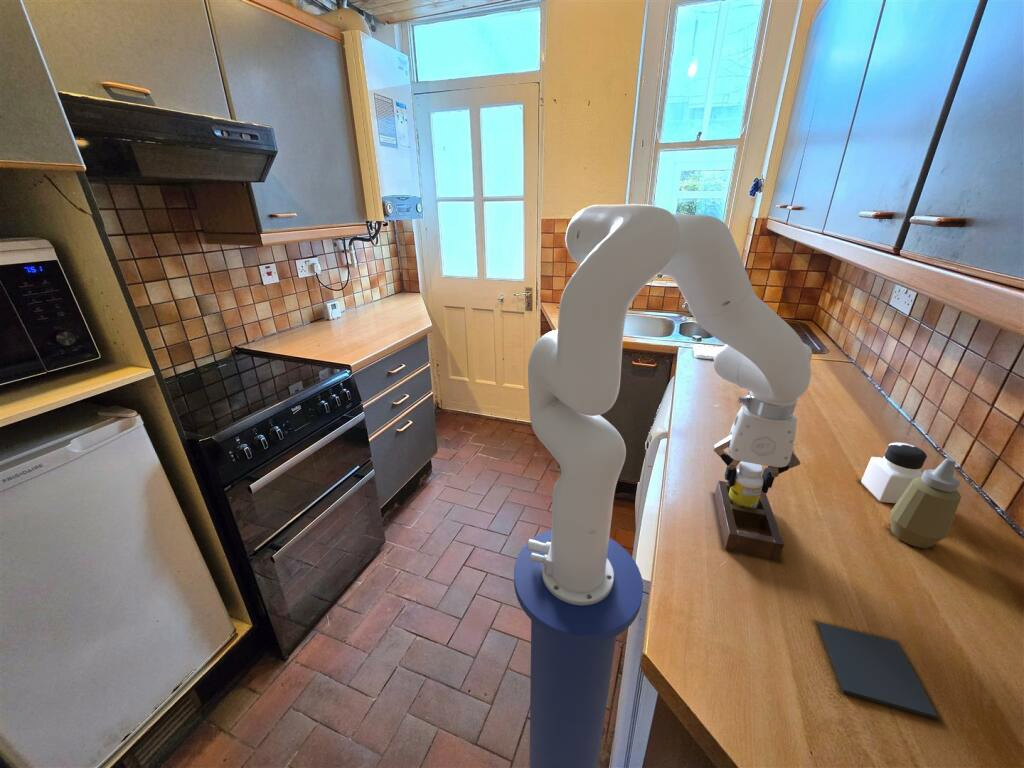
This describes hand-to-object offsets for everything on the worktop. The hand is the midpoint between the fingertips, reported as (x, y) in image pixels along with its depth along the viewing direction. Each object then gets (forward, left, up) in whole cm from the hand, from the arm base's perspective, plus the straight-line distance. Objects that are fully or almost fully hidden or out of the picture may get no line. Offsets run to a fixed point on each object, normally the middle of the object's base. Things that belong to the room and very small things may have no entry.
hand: (746, 485), depth 82 cm
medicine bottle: (+32, +17, -7) cm, 37 cm away
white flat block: (+8, +102, -7) cm, 102 cm away
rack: (0, -3, -7) cm, 8 cm away
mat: (+12, -28, -7) cm, 32 cm away
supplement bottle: (0, 0, -5) cm, 5 cm away
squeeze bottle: (+30, +3, -7) cm, 31 cm away
